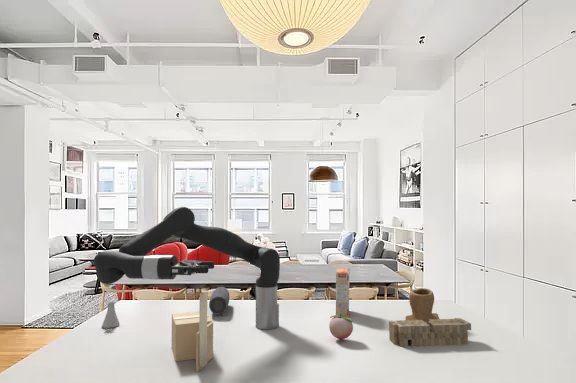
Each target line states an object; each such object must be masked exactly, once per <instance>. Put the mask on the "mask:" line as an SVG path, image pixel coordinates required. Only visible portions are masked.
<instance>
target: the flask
mask: <svg viewBox="0 0 576 383" xmlns="http://www.w3.org/2000/svg"><path fill="white" fill-rule="evenodd" d="M115 304H116V301H108V302H106V305H107V311H106V315H105V317H104V319H103V322H102V324H101V328H102V329H103V328H105V329H111V328H117V327H119V326H120V324H121V323H120V321H119V318H118V316H117V313H116V308H115Z"/></svg>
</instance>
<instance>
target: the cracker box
mask: <svg viewBox="0 0 576 383" xmlns="http://www.w3.org/2000/svg"><path fill="white" fill-rule="evenodd" d="M349 311H350V268H348V267H347V268H346V267H338V268H337V270H336V272H335V315H338V316H340V314H341V317H348V318H349V314H350V313H349Z"/></svg>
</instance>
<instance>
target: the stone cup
mask: <svg viewBox="0 0 576 383" xmlns="http://www.w3.org/2000/svg"><path fill="white" fill-rule="evenodd" d="M408 299H409V305H410V308H411V314H410V315H406V316H405V317H404V318H405V319H404V320H407V321H408V320H423V321H424V322H426V323H427V324H428V322H429V319H432V320H433V319H440V317H439V313H437V312H435V313H433V307H434V303H435V296H434V292H433V291H432V290H431V289H429V288H426V287H425V288H424V287H419V288H415V289H412V290H410V292H409V297H408Z"/></svg>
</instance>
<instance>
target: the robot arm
mask: <svg viewBox="0 0 576 383" xmlns="http://www.w3.org/2000/svg"><path fill="white" fill-rule="evenodd" d="M195 219H196V217H195V213H194V212H193V210H192V209H191V208H189V207H186V206H178V207H176V208H174V209H173V210H172V211H170V212H169V213H168V214H166V216H164V218H163V220H162V221H160V222H159V223H157V224H156V225H154V226H153V227H151V228H149V229H148V230H146V231H143V233H141V234H138V235H137V236H135V237H134V238H132V239H130V240H129V241H127V242H125V243H124V244H122V245H121V246H120V247H119V249H118V251H117V250H116V251H115V250H103V251H100V252H99V253H97V254H96V255H95V257H94V258H93V265H94V269H95V272H96V275H97V278H98V281H99V282H100V283H101V284H103V285H111V284H114V283H116V282H118V281H120V280H121V279H122V278H123V277H124V276H126V278H127V279H130V280H131V279H132V280H133V279H139V280H140V279H141V280H142V279H143V280H146V279H147V280H174V279H176V278H177V276H192V275H195V274H208V273H209V269H211V270H212V269H214V268H215V261H203V260H202V259H199V260H196V259H195V260H194V259H192V260H191V259H190V260H188V259H187V260H186V259H182V260H181V261H178V257H177V256H176V255H174V254H162V255H161V254H160V255H159V254H155V255H154V254H152V255H148V254H149V253H151V252H152V251H153V250H155V249H156V248H157V247H159V246H160V245H161V244H162V243H164V242H165V241H166V240H168V239H170V238H171V237H172V236H173V237H177V238H180V239H184V240H188V241H191V242H193V243H196V244H199V245H201V246H204V247H207V248H209V249H211V250H213V251H216V252H219V253H220V254H224V255H227V256H229V257H230V256H231V257H233V258H238V259H241V260H243V261H246V262H248V263H249V264H250V265H253V266H254V267H256V268H258V269H260V274H259V275H260V276H259V277H258V278H256V279H255V327H256V328H257V329H259V330H272V329H276V328H279V327H280V304H279V303H278V281H279V280H280V268H281V267H280V266H281V264H280V263H281V260H280V254H279V253H278V251H277V250H275V249H274V248H269V247H268V248H267V247H262V246H258V245H255V244H252V243H250V242H248V241H246V240H244V239H243V238H242V237H241V236H239V235H238V234H236V233H234V232H232V231H230V230H228V229H225V228H224V227H223V228H222V227H217V226H207V225H206V226H205V225H201V224H197V223H195ZM197 264H198V265H197Z"/></svg>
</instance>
